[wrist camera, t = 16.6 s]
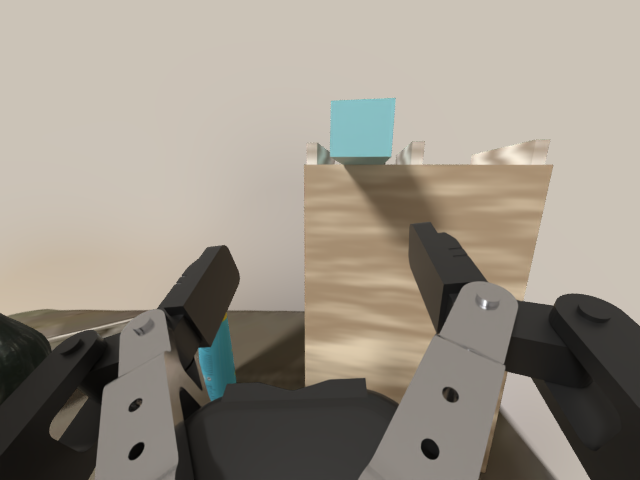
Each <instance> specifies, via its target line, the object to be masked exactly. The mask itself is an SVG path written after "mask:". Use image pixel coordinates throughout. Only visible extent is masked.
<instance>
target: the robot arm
mask: <svg viewBox="0 0 640 480" xmlns="http://www.w3.org/2000/svg"><path fill="white" fill-rule="evenodd" d="M408 257H409V264H410V268H411V271H412V273H413V276H414V278H415V281H416V283H417V286H418V288H419V291H420V293H421V296H422V298H423V301H424V303H425V306H426V309H427V311H428V314H429V316H430V319H431V321H432V324H433V326H434V329H435V331H436V334H435V335H434V337H433V338H432V340H431V342H430V344H429V346H428V348H427V350H426V352H425V354H424V356H423V358H422V360H421V362H420V364H419V366H418V368H417V370H416V372H415V374H414V376H413V378H412V380H411V382H410V384H409V386H408V388H407V390H406V392H405V394H404V396H403V398H402V400H401V402H400V404H399V403H397V402H396V401H395V400H393V399H391V398H389V397H388V396H386V395H384V394H381V393H379V392H376V391H373V390H369V389H367V387H366V379H365V378H350V379H329V380H326V381H323V382H320V383H317V384H313V385H310V386H307V387H304V388H301V389H298V390H293V391H291V390H286V389H282V388H279V387H275V386H271V385H267V384H263V383H260V382H257V383H234V384H227V385H226V388H225V391H224V394H223V396H222V397H219V398H217V399H215V400H213V401H211V400H210V397H209V395H208V391H207V388H206V384H205V380H204V377H203V373H202V370H201V366H200V363H199V359H198V357H197V356H196V354H195V353H196V351H197V349H198V348H207V347H211V346H212V343H213V341H214V339H215V337H216V334H217V332H218V330H219V328H220V325H221V323H222V321H223V319H224V316H225V314H226V312H227V310H228V307H229V305H230V303H231V301H232V298H233V296H234V294H235V292H236V289H237V287H238V284H239V280H240V276H239V271H238V269H237V267H236V264H235V262H234V260H233V258H232V255H231V254H230V251H229V249H228V248H227V246H225V245H222V246H213V247H207V248H206V250H205V251H204V252H203V254H202V255H201V256H200V258H199V259H197V260H196V261H195V262H194V263H192V264H191V265H190V266H189V267H188V268H187V269H186V270H185V272H184V273H183V274H182V277H180V278H179V280H178V281H177V284H176V285H174V286H173V288H172V289H171V291H170V292H169V293H168V295H167V296H166V297H165V299H164V300H163V301H162V303H161V304H160V305H159V307H158V308H157V309H153V310H149V311H146V312H144V313H142V314H140V315H138V316H137V317H135V318H134V319H132V320H131V321H130V322H129V323H128V324H127V325H126V326H125V327H124V329H123V330H122V332H121V333H118V334H115V335H112V336H109V337H106V338H102V337H101V336H100V335H99V334H98V333H97V332H96V331H94V330H86V331H82V332H80V333H77V334H75V335H73V336H71V337H70V338H68V339H66V340H65V341H63V342H62V343H61V344H60V345H58V346H57V347H56V348H55V349H54V350H53V351H52V352H51V353H50V354H49V355H48V356H47V357H46V358H45V359H44V360H43V361H42V363H41V364H40V365H39V366H38V367H37V368H36V369H35V370H34V371H33V372H32V373H31V374H30V375H29V376H28V377H27V378H26V379H25V380H24V381H23V382H22V383H21V384H20V386H19V387H18V388H17V389H16V390H15V391H14V392H13V393H12V394H11V395H10V396H9V397H8V398H7V399H6V400H5V401H4V402H3V403H2V404H1V405H0V480H88V479H89V477H90V475H91V474H92V472H93V470H94V468H95V467H96V470H95V480H478V479H479V475H480V470H481V466H482V462H483V458H484V454H485V450H486V446H487V442H488V438H489V434H490V430H491V425H492V421H493V417H494V413H495V409H496V405H497V401H498V397H499V393H500V389H501V384H502V380H503V376H504V372H505V371H507V372H511V373H515V374H520V375H524V376H528V377H531V378H532V380H533V382H534V383H535V385H536V387H537V388H538V390H539V392H540V394H541V395H542V397H543V399H544V400H545V402H546V404H547V406H548V407H549V409H550V411H551V412H552V414H553V416H554V418H555V419H556V421H557V423H558V424H559V426H560V428H561V430H562V431H563V433H564V435H565V436H566V438H567V440H568V442H569V443H570V445H571V447H572V449H573V450H574V452H575V454H576V455H577V457H578V459H579V461H580V462H581V464H582V466H583V467H584V469H585V471H586V472H587V474H588V476H589V478H590V479H591V480H640V326H639V325H638V324H637V323H636V322H634V321H633V320H632V319H631V318H630V317H629V316H628V315H627V314H625V313H624V312H623V311H622V310H621V309H619V308H617V307H616V306H614V305H612V304H611V303H608V302H606V301H604V300H602V299H599V298H596V297H593V296H589V295H584V294H566V295H562V296H560V297H559V298H557V300H556V302H555V304H554V306H552V305H545V304H538V303H531V302H525V301H520V300H516V298H515V297H514V296H513V295H512V294H511V293H510V292H509V291H508V290H506V289H505V288H503V287H501V286H499V285H496V284H493V283H489V282H488V281H487V280H486V278H485V277H484V276H483V274H482V273H481V272H480V270H479V269H478V268H477V266H476V265H475V264H474V262H473V261H472V260H471V258H470V257H469V256H468V254H467V253H466V251H465V250H464V249H462V246H461V245H460V243H459V242H458V241H457V239H456V238H454V237H452V236H451V235H449V234H447V233H446V232H442V233H437V231H436V230H435V228H434V226H433V225H432V223H431V222H422V223H413V224H410V227H409V250H408ZM76 388H77V389H79V390H80V391H81V392H83V393H84V394H85V395H87V396H88V397H89V398H88V399H87V401H86V402H85V404H84V405H83V407H82V408H81V409H80V411H79V412H78V414H77V415H76V416H75V418H74V419H73V421H72V422H71V424H70V425H69V426H68V428H67V429H66V431H65V432H64V434H63V435H62V436H61V438H60V439H59V441H57V440H55V439H53V438H52V437H51V436H50V434H49V428H50V424H51V422H52V420H53V418H54V417H55V416H56V414H57V413H58V412H59V410H60V409H61V408H62V407H63V405H64V404H65V403H66V401H67V400H68V399H69V397H70V396H71V395H72V393H73V392H74V391H75V390H76Z"/></svg>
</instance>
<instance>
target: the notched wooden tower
mask: <svg viewBox="0 0 640 480" xmlns="http://www.w3.org/2000/svg"><path fill="white" fill-rule="evenodd" d="M549 143H550V139H546V140H545V139H544V140H532V141H528V142H524V143H520V144H515V145H511V146H507V147H503V148H498V149H494V150H490V151H486V152H482V153H477V154H474V155H472V158H471V165H422V164H423V154H424V145H425V141H413V142H411V143H410V144H409V145H408V146H407V147H406V148H404V149H403V150H402V151H401V152H400V153H398V154H397V155H396V165H334V162H335V160H334V159H333V158H331V157H330V152H329V151H328V150H326V149H325V148H324V147H322V146H321V145H320V144H318V143H307V165H304V213H305V215H304V222H305V223H304V224H305V225H304V227H305V228H304V231H305V387H307V386H310V385H313V384H317V383H320V382H323V381H326V380H329V379H350V378H365V379H366V387H367V389H369V390H373V391H376V392H379V393H381V394H384V395H386V396H388V397H389V398H391V399H393V400H395V401H396V402H397V403H399V404H400V402H401V400H402V398H403V396H404V394H405V392H406V390H407V388H408V386H409V384H410V382H411V380H412V378H413V376H414V374H415V372H416V370H417V368H418V366H419V364H420V362H421V360H422V358H423V356H424V354H425V352H426V350H427V348H428V346H429V344H430V342H431V340H432V338H433V337H434V335H435V334H436V331H435V329H434V326H433V324H432V321H431V319H430V316H429V314H428V311H427V309H426V306H425V303H424V301H423V298H422V296H421V293H420V291H419V288H418V286H417V283H416V281H415V278H414V276H413V273H412V271H411V268H410V264H409V257H408V250H409V227H410V224H413V223H422V222H431V223H432V225H433V226H434V228H435V230H436V231H437V233H442V232H446V233H447V234H449V235H451V236H452V237H454V238H456V239H457V241H458V242H459V243H460V245H461V246H462V249H464V250H465V251H466V253H467V254H468V256H469V257H470V258H471V260H472V261H473V262H474V264H475V265H476V266H477V268H478V269H479V270H480V272H481V273H482V274H483V276H484V277H485V278H486V280H487V281H488V282H489V283H493V284H496V285H499V286H501V287H503V288H505V289H506V290H508V291H509V292H510V293H511V294H512V295H513V296H514V297H515V298H516V300H520V301H523V299H524V294H525V290H526V286H527V282H528V277H529V272H530V268H531V263H532V259H533V254H534V250H535V245H536V241H537V236H538V232H539V227H540V223H541V218H542V214H543V209H544V205H545V200H546V196H547V191H548V186H549V182H550V178H551V173H552V168H553V165H545V162H546V157H547V152H548V148H549ZM506 376H507V371H505V372H504V376H503V380H502V384H501V389H500V393H499V397H498V401H497V405H496V409H495V413H494V417H493V421H492V425H491V430H490V434H489V438H488V442H487V446H486V450H485V454H484V458H483V462H482V466H481V470H480V472H483V473H485V471H486V467H487V462H488V458H489V453H490V449H491V444H492V440H493V435H494V431H495V426H496V422H497V417H498V413H499V408H500V404H501V399H502V394H503V389H504V385H505V381H506Z"/></svg>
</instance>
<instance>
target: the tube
mask: <svg viewBox="0 0 640 480" xmlns="http://www.w3.org/2000/svg"><path fill="white" fill-rule="evenodd" d="M199 363H200V366H201V370H202V373H203V377H204V380H205V384H206V388H207V391H208V395H209V397H210V400H211V401H213V400H215V399H217V398H219V397H222V396H223V394H224V391H225V388H226V385H227V384H234V383H236V375H235V367H234V360H233V352H232V345H231V339H230V332H229V326H228V319H227V313H226V314H225V316H224V319H223V321H222V323H221V325H220V328H219V330H218V332H217V334H216V337H215V339H214V341H213V343H212V346H211V347H207V348H199Z"/></svg>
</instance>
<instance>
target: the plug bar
mask: <svg viewBox="0 0 640 480" xmlns="http://www.w3.org/2000/svg"><path fill="white" fill-rule="evenodd" d="M394 110H395V98H385V99H362V100H339V101H331V131H330V157H331V158H333V159H334V160H336V161H338V162H339V163H341V164H343V165H385V162H386V161H387V160H388V159H389V158H390V157H391V151H392V139H393V125H394V112H395V111H394Z"/></svg>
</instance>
